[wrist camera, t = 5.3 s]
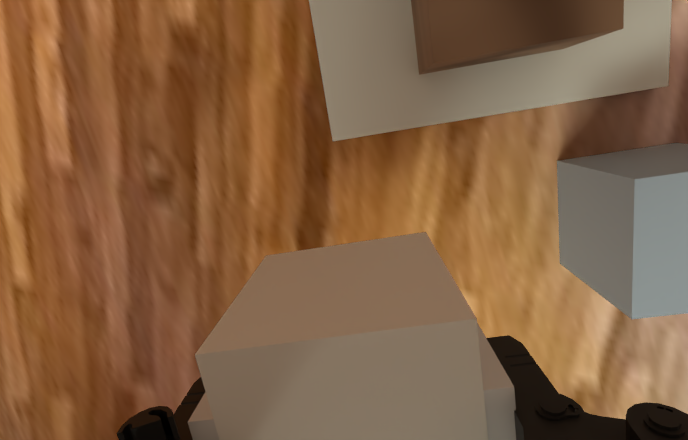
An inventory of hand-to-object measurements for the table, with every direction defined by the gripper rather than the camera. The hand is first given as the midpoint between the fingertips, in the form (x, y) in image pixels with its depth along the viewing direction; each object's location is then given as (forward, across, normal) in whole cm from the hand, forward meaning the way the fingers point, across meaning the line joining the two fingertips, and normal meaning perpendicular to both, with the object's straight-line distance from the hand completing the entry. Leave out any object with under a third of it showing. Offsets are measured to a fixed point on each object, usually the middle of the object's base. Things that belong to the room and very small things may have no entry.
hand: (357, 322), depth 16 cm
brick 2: (+9, +16, +1) cm, 18 cm away
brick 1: (0, 0, 0) cm, 0 cm away
